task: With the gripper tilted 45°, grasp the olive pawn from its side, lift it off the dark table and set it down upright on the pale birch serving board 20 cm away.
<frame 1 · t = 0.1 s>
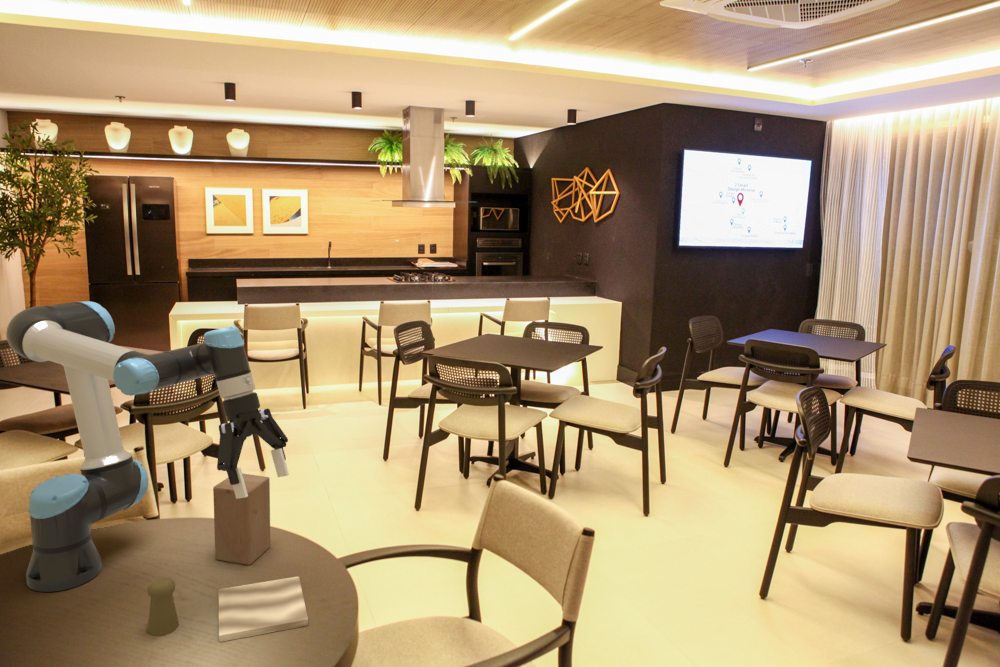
hand: (263, 486, 150), 28 cm above the table, tool tilted 20°, fingers open, 13 cm apart
olive pawn: (163, 628, 142), on the table
birch board: (262, 609, 150), on the table
wooden block: (243, 554, 173), on the table
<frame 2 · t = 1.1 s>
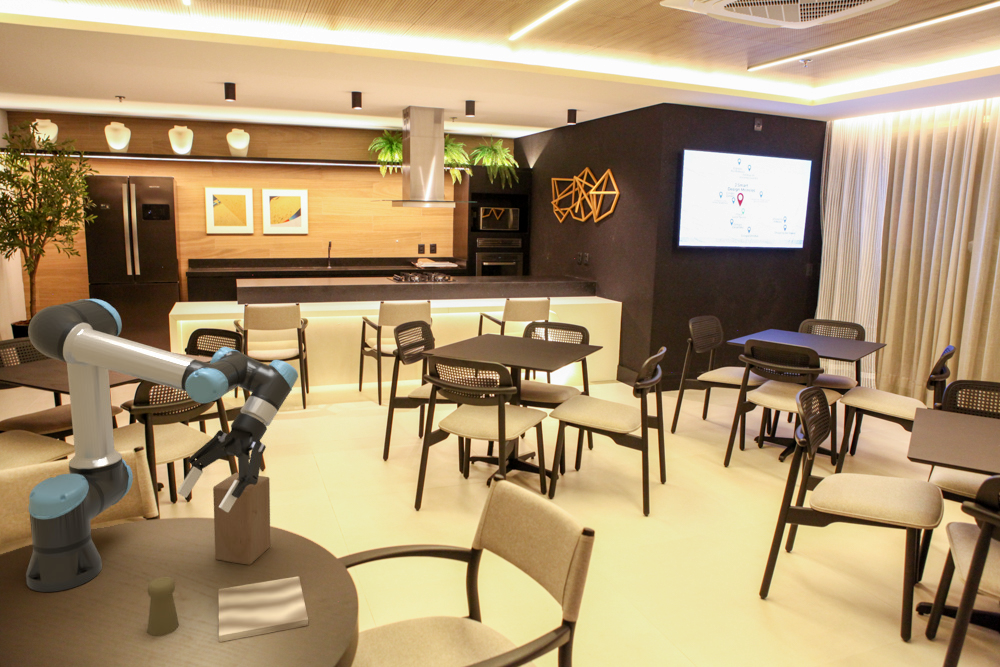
hand: (201, 502, 147), 25 cm above the table, tool tilted 45°, fingers open, 13 cm apart
nothing on the table moved.
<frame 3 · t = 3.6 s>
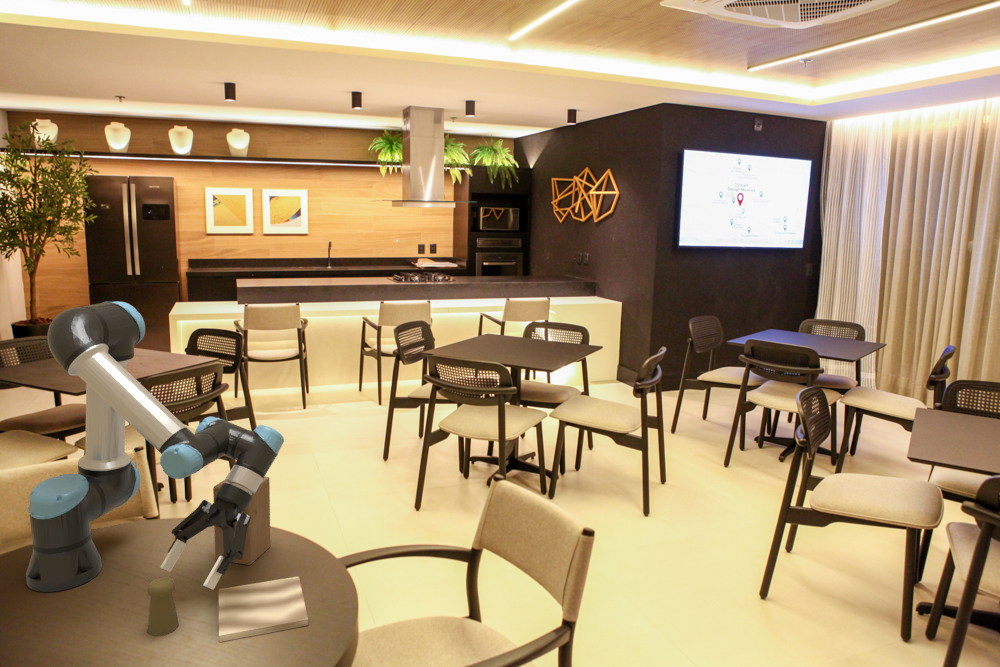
hand: (186, 578, 144), 9 cm above the table, tool tilted 45°, fingers open, 13 cm apart
nothing on the table moved.
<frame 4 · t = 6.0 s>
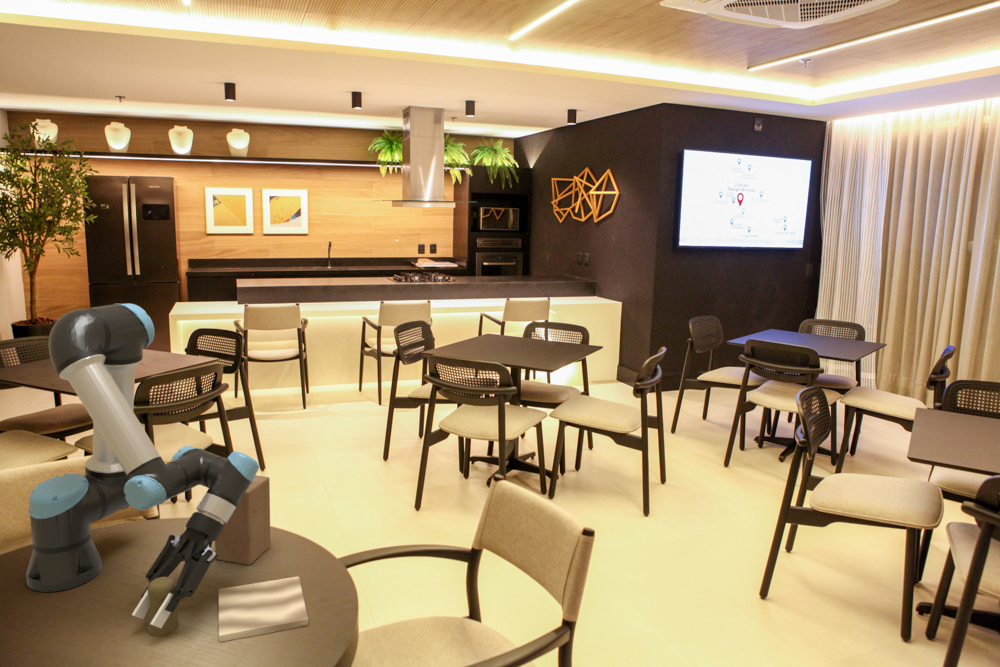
hand: (146, 621, 138), 4 cm above the table, tool tilted 45°, fingers closed on olive pawn, 5 cm apart
olive pawn: (163, 627, 142), on the table, touching gripper
everything else where it was.
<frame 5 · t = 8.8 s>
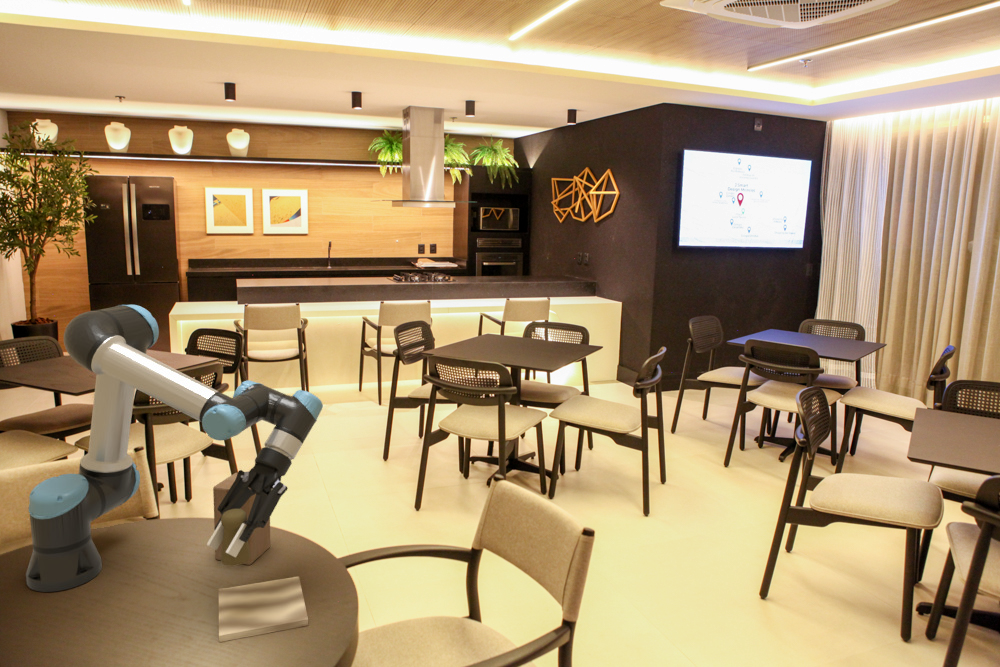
hand: (221, 550, 141), 18 cm above the table, tool tilted 45°, fingers closed on olive pawn, 5 cm apart
olive pawn: (235, 559, 145), point 14 cm above the table, touching gripper
everything else where it was.
when the fingers open (6 cm above the table, at t = 11.4 s): olive pawn drops 1 cm, resting on birch board.
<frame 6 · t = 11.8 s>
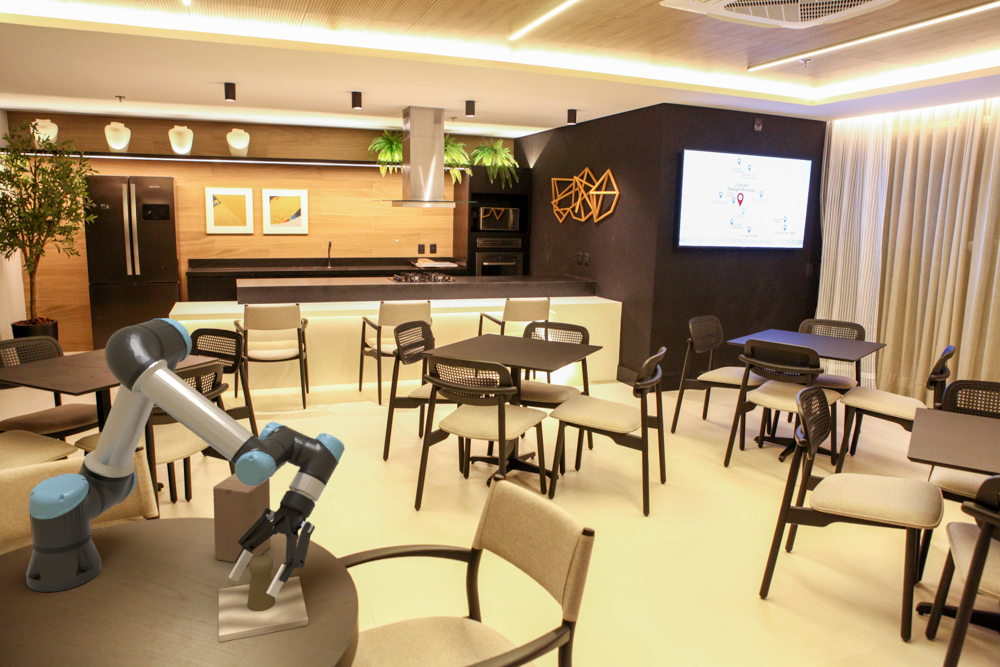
hand: (251, 587, 146), 7 cm above the table, tool tilted 45°, fingers open, 11 cm apart
olive pawn: (261, 604, 150), point 1 cm above the table, touching birch board
everything else where it was.
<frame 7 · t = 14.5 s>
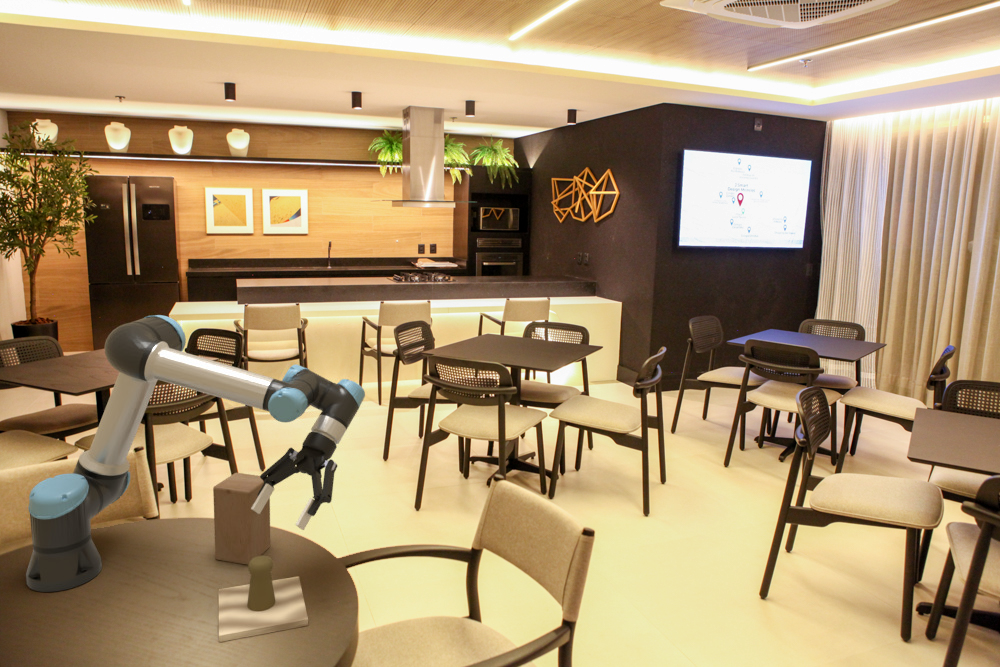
hand: (276, 519, 151), 20 cm above the table, tool tilted 45°, fingers open, 13 cm apart
nothing on the table moved.
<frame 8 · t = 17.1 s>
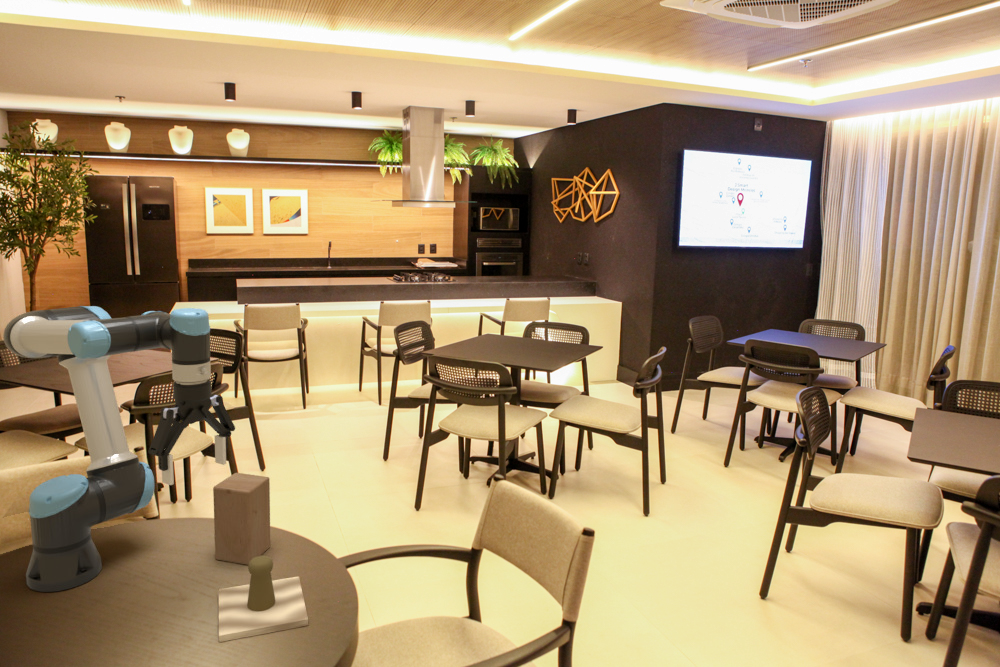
hand: (195, 472, 147), 31 cm above the table, tool pointing down, fingers open, 13 cm apart
nothing on the table moved.
at the end: olive pawn inside the target area on the birch board (0.1 cm from its centre), point 1.3 cm above the birch board's base; olive pawn tilted 0°; the gripper is holding nothing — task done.
